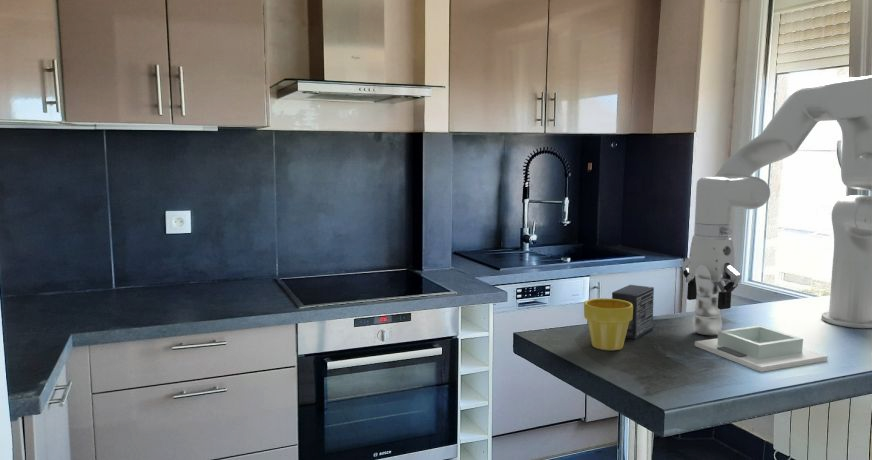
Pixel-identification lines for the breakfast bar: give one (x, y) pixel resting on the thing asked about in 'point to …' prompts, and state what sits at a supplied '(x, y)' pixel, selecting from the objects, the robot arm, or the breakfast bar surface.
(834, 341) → the breakfast bar surface
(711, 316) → the metal bottle
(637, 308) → the small box
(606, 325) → the plant pot
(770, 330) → the charging dock
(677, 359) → the breakfast bar surface
